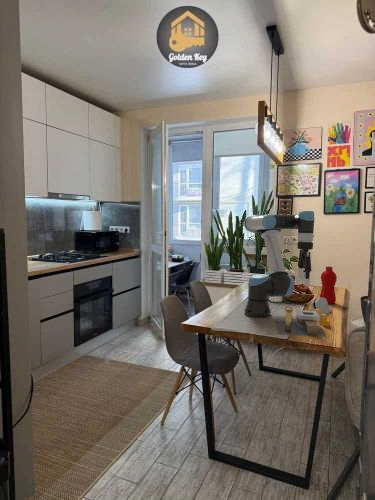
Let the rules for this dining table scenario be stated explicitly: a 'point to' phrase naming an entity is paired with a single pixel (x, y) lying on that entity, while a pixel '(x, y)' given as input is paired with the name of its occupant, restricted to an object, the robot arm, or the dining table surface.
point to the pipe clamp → (322, 318)
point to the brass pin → (288, 319)
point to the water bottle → (328, 285)
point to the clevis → (308, 321)
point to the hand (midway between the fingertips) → (303, 282)
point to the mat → (295, 330)
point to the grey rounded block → (321, 305)
